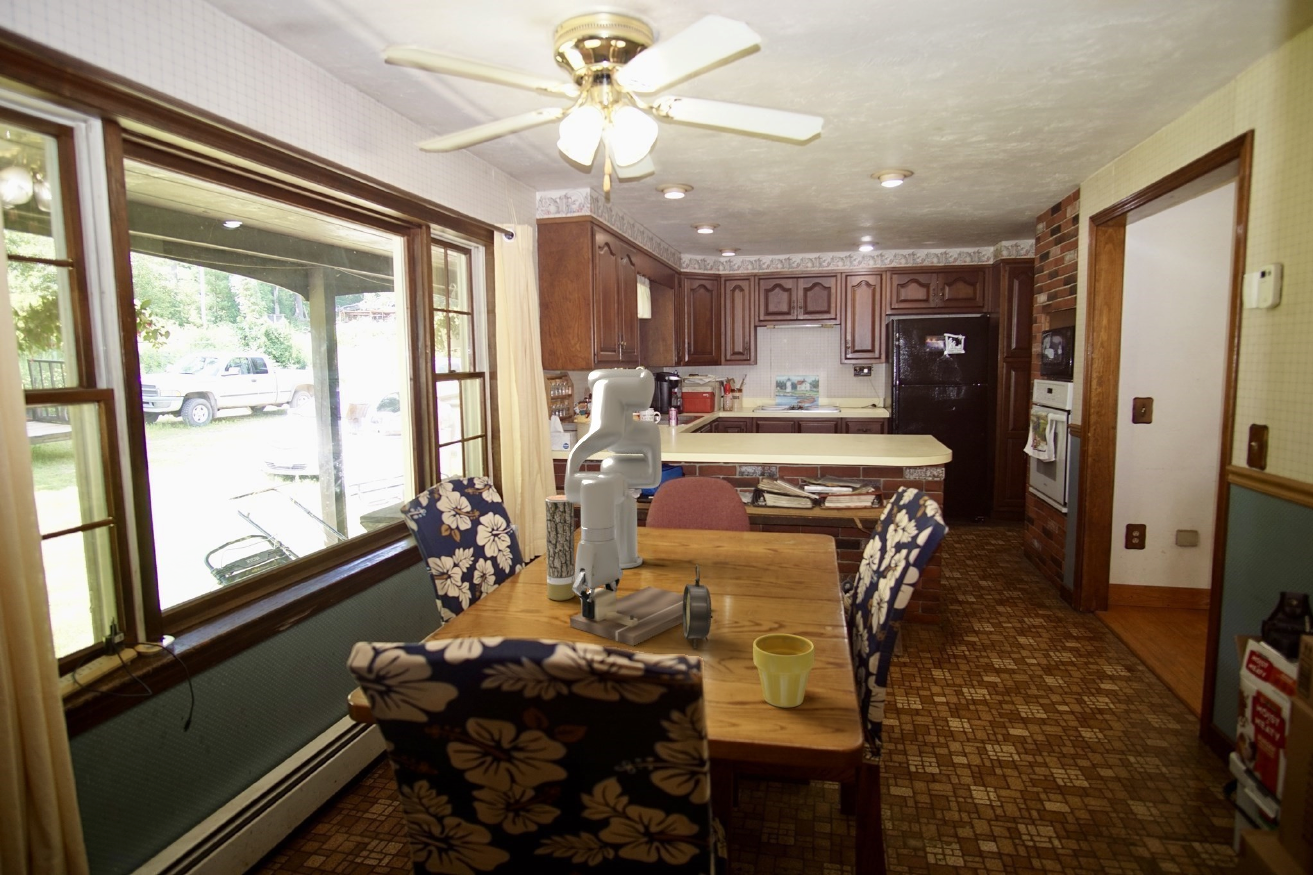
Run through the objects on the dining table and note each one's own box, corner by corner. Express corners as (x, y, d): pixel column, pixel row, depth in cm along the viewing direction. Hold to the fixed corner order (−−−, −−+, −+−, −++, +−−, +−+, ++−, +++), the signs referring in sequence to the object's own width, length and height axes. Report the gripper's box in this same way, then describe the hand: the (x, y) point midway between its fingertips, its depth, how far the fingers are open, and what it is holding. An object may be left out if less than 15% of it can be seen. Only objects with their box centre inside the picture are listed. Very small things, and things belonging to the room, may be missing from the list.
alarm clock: (681, 632, 151) (681, 558, 150) (706, 631, 152) (706, 557, 150) (687, 652, 141) (688, 573, 139) (714, 651, 141) (715, 572, 139)
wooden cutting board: (570, 626, 155) (570, 617, 155) (649, 594, 177) (649, 586, 177) (633, 646, 144) (633, 636, 144) (709, 609, 166) (709, 600, 166)
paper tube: (552, 603, 170) (551, 501, 168) (543, 595, 176) (541, 496, 174) (579, 598, 173) (577, 498, 171) (569, 591, 179) (567, 494, 177)
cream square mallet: (581, 616, 155) (581, 594, 155) (599, 609, 160) (599, 587, 160) (625, 629, 148) (625, 606, 147) (643, 621, 152) (643, 599, 152)
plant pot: (751, 684, 127) (751, 631, 126) (809, 686, 126) (810, 633, 125) (753, 712, 116) (754, 654, 115) (817, 714, 115) (818, 657, 114)
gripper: (611, 524, 163) (612, 600, 165) (557, 538, 150) (558, 620, 152) (636, 528, 159) (636, 606, 161) (583, 544, 145) (584, 628, 147)
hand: (598, 612), depth 156 cm, fingers closed on cream square mallet, 6 cm apart
